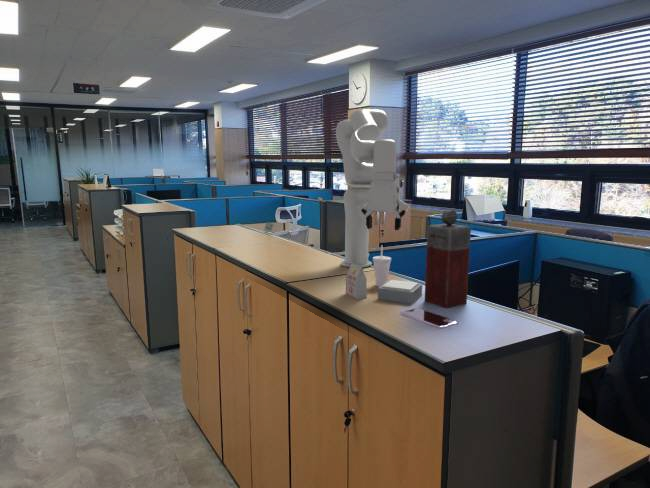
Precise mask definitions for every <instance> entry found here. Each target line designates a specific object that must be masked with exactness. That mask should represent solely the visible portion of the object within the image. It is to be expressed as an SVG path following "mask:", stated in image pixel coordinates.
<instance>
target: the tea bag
mask: <svg viewBox="0 0 650 488" xmlns="http://www.w3.org/2000/svg"><path fill="white" fill-rule="evenodd" d="M363 269H364V268H362V267H361V266H358V265H356V264H353V263H350V267H348V270H347V273H346V275H345V295H347V296H350V297H351V298H353V299H355V300H358V299H359V300H360V299H366V298H367V277H366V275H365V273H364V270H363Z"/></svg>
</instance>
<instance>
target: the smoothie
mask: <svg viewBox="0 0 650 488" xmlns="http://www.w3.org/2000/svg"><path fill="white" fill-rule="evenodd" d="M383 248H384V247H383V244H381V245H380V255H376V256H373V257H372V262H373V269H374V280H375V286H377V287H378V288H379V287H380V286H382V285H383V284H385V283H386V282H387V281H389V280H388V279H389V274H390V273H389V271H390V266H391V262H392V257H390V256H387V255H386V256H385V255H383V253H384V251H383Z"/></svg>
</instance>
